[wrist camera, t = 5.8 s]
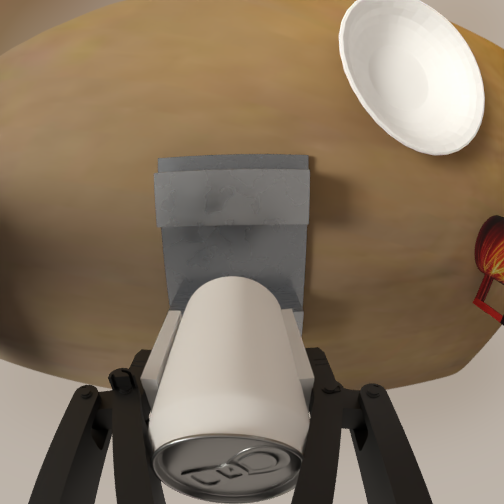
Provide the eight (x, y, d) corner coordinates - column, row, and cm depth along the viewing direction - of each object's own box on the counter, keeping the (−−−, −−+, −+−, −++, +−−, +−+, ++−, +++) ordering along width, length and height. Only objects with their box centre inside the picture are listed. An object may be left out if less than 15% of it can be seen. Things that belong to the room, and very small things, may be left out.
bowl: (412, 5, 24) (435, -11, 18) (472, 130, 29) (502, 129, 23) (291, 30, 26) (302, 5, 20) (368, 179, 31) (394, 183, 25)
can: (298, 326, 20) (347, 475, 8) (224, 368, 21) (216, 514, 9) (245, 253, 18) (253, 398, 7) (166, 306, 19) (104, 452, 8)
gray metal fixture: (175, 335, 36) (166, 362, 31) (159, 158, 30) (143, 158, 24) (299, 333, 37) (307, 360, 31) (306, 155, 30) (320, 153, 25)
